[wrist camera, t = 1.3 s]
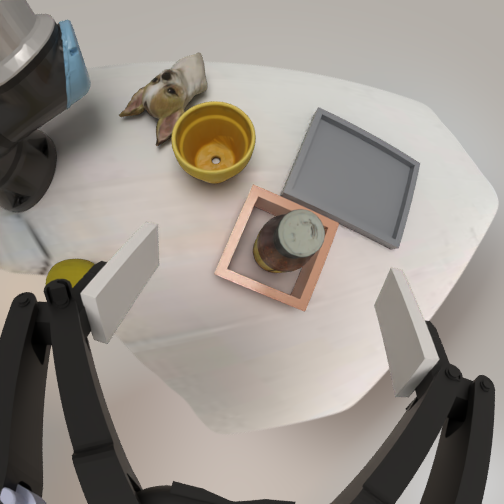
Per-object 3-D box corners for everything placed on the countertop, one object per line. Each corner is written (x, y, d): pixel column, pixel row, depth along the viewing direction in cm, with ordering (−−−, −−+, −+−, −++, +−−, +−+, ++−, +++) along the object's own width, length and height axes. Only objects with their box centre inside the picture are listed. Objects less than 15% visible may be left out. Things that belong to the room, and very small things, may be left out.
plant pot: (228, 121, 45) (229, 88, 35) (262, 174, 45) (271, 149, 35) (170, 152, 44) (157, 123, 34) (201, 207, 44) (195, 190, 34)
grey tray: (280, 196, 45) (283, 192, 42) (314, 114, 46) (318, 107, 44) (390, 249, 46) (398, 248, 44) (412, 167, 47) (420, 163, 45)
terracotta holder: (215, 273, 43) (214, 274, 38) (249, 195, 45) (253, 184, 39) (294, 306, 44) (304, 311, 38) (325, 229, 45) (339, 223, 39)
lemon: (60, 307, 41) (33, 313, 33) (59, 259, 42) (32, 256, 34) (118, 312, 42) (98, 320, 34) (118, 260, 42) (97, 258, 34)
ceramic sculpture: (225, 62, 37) (149, 134, 36) (227, 91, 45) (164, 154, 45) (175, 33, 37) (103, 98, 36) (183, 63, 45) (122, 121, 45)
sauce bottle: (300, 240, 45) (355, 217, 25) (284, 279, 44) (328, 285, 24) (260, 222, 44) (286, 183, 25) (242, 261, 44) (256, 252, 24)
